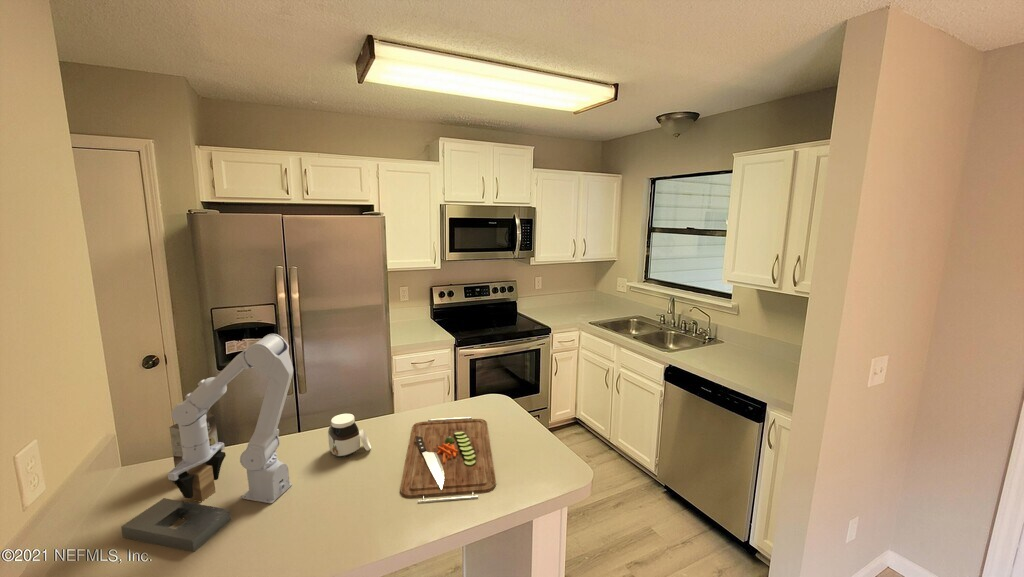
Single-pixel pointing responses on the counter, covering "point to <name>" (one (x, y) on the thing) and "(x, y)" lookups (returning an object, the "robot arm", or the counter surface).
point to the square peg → (202, 482)
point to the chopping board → (448, 459)
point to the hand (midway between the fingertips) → (201, 487)
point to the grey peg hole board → (186, 536)
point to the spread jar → (346, 436)
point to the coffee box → (177, 440)
